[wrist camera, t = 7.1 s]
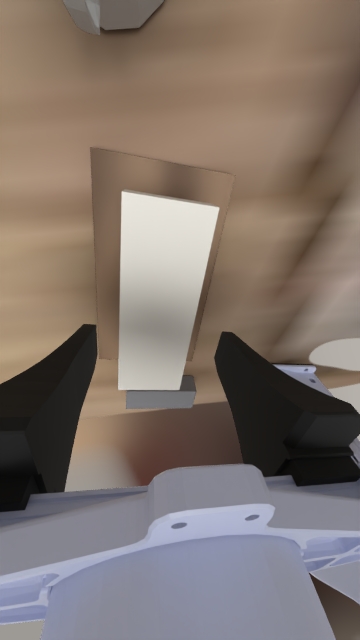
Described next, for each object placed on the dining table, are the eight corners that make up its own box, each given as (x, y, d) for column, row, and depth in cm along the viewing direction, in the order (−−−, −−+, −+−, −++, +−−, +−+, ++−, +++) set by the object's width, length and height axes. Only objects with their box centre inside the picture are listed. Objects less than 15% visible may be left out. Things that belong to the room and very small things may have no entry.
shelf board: (176, 372, 21) (179, 390, 19) (120, 371, 20) (118, 389, 18) (210, 203, 14) (219, 207, 12) (124, 189, 13) (121, 191, 11)
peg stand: (230, 175, 17) (258, 175, 13) (189, 354, 27) (198, 389, 22) (93, 149, 16) (74, 138, 11) (101, 351, 25) (91, 388, 20)
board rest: (192, 375, 29) (196, 391, 27) (188, 391, 30) (191, 408, 28) (128, 374, 27) (126, 391, 25) (127, 391, 29) (125, 408, 27)
